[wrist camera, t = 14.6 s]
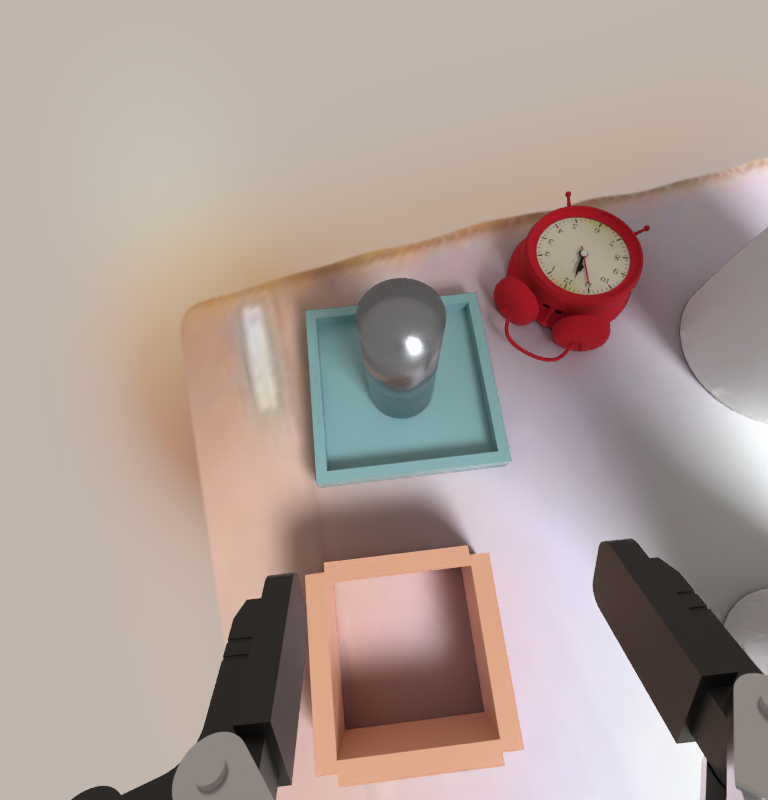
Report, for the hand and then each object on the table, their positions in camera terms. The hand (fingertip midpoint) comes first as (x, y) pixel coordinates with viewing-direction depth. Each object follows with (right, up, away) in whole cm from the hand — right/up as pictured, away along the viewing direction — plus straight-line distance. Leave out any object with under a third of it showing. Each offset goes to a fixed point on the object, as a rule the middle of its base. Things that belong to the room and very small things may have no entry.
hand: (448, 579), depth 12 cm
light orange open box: (0, -12, +18) cm, 22 cm away
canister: (0, +6, +23) cm, 24 cm away
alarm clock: (+13, +14, +27) cm, 33 cm away
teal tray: (0, +6, +24) cm, 25 cm away
